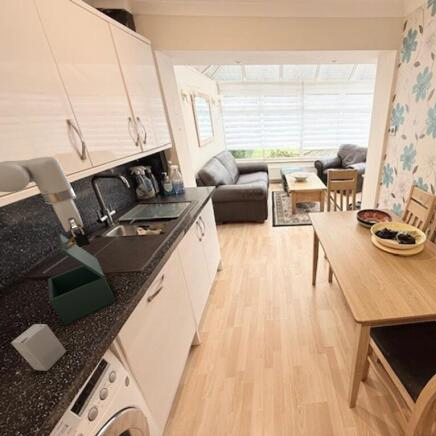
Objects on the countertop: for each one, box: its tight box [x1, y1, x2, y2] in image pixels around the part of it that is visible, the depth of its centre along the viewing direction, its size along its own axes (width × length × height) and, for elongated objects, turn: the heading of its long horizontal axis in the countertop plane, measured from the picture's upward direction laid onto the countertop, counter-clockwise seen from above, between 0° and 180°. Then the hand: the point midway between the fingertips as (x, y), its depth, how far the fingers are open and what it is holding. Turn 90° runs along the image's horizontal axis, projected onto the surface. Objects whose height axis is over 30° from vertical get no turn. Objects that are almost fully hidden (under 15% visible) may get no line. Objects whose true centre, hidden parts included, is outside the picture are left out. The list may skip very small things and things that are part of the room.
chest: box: [47, 265, 116, 326], centre depth 89 cm, size 15×17×11 cm
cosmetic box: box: [10, 323, 67, 372], centre depth 67 cm, size 6×4×12 cm
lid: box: [57, 233, 105, 278], centre depth 87 cm, size 16×17×5 cm
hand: (83, 240), depth 85 cm, fingers open, 9 cm apart
